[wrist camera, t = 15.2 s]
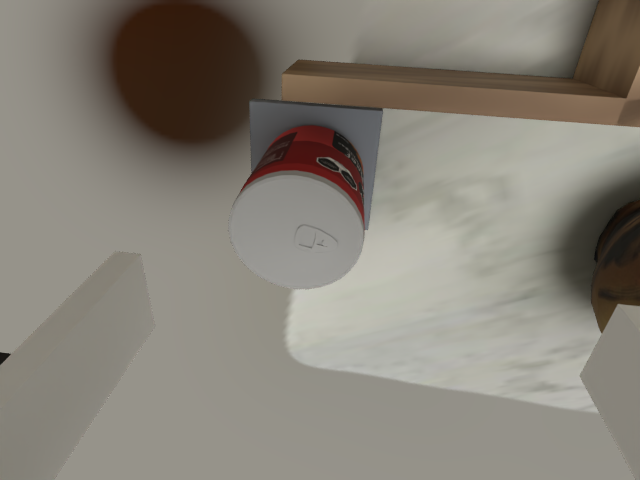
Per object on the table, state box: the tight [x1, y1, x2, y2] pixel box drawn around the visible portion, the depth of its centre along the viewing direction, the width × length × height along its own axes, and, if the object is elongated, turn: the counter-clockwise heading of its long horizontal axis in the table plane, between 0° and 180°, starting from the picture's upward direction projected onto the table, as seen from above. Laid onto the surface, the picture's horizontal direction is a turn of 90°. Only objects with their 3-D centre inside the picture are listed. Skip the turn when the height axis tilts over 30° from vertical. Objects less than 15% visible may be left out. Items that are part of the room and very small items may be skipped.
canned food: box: [228, 125, 365, 289], centre depth 29 cm, size 8×8×11 cm
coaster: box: [249, 99, 383, 230], centre depth 34 cm, size 10×10×1 cm
